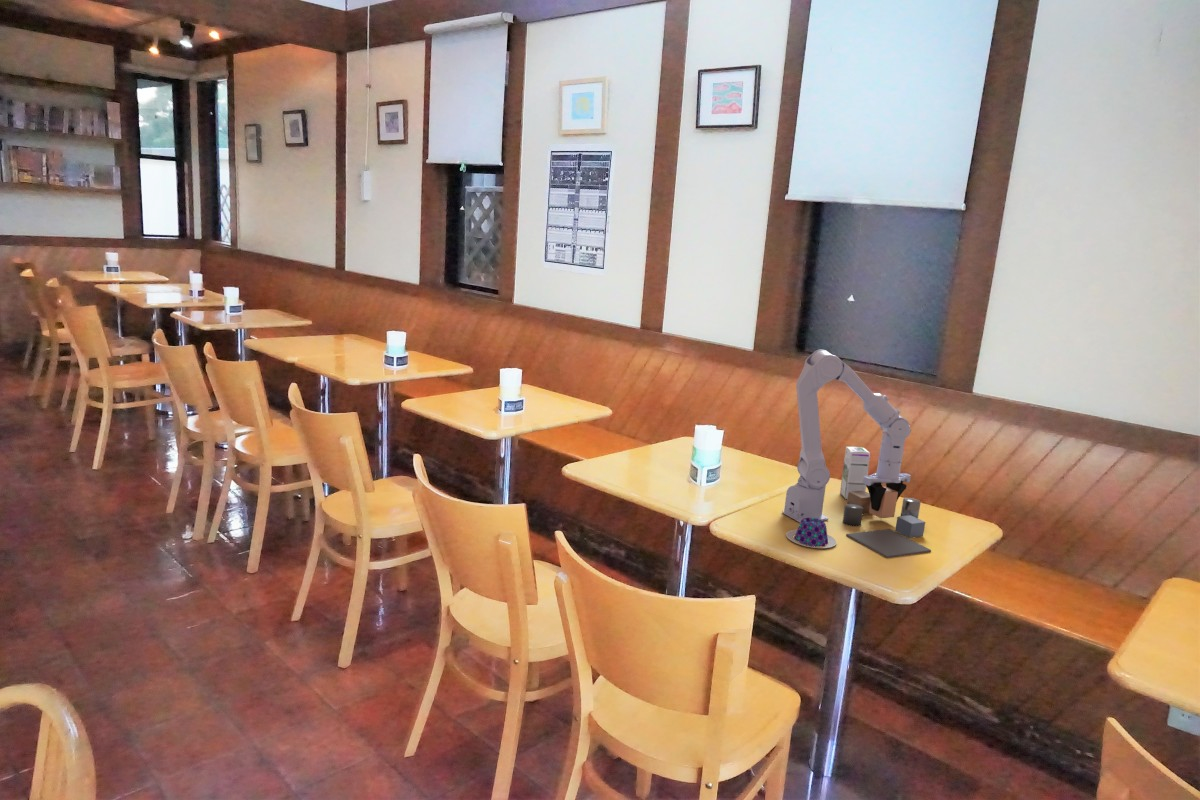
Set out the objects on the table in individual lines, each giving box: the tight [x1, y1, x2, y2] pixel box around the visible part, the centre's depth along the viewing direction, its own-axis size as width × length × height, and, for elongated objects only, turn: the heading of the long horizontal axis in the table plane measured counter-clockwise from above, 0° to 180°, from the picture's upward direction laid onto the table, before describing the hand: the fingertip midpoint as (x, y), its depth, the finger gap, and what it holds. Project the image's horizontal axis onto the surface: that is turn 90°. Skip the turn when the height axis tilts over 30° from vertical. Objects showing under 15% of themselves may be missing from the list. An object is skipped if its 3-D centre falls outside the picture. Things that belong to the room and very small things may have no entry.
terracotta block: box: [869, 486, 898, 519], centre depth 211 cm, size 4×4×7 cm
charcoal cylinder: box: [842, 503, 863, 527], centre depth 209 cm, size 5×5×4 cm
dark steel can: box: [900, 497, 921, 519], centre depth 214 cm, size 4×4×6 cm
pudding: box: [785, 517, 837, 549], centre depth 194 cm, size 12×12×5 cm
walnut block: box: [846, 490, 871, 515], centre depth 218 cm, size 5×5×5 cm
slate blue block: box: [894, 515, 926, 539], centre depth 204 cm, size 4×5×4 cm
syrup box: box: [839, 446, 871, 500], centre depth 229 cm, size 6×6×14 cm
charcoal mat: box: [845, 528, 932, 559], centre depth 196 cm, size 14×14×1 cm
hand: (882, 508), depth 211 cm, fingers closed on terracotta block, 4 cm apart
